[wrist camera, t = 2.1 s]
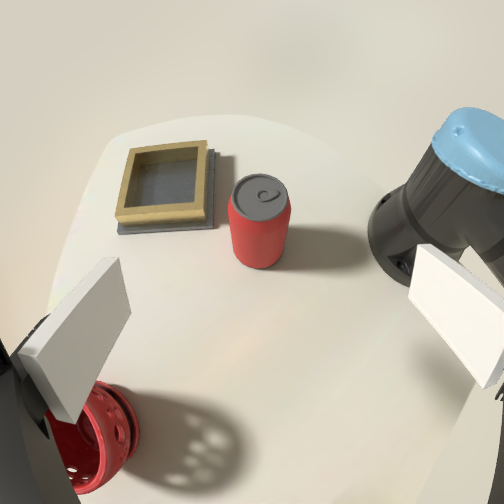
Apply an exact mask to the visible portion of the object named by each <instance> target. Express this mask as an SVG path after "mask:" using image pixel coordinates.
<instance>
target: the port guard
mask: <svg viewBox="0 0 504 504" xmlns="http://www.w3.org/2000/svg"><path fill="white" fill-rule="evenodd" d="M214 163H215V150H214V149H208V144H207V140H201V141H190V142H180V143H171V144H162V145H154V146H146V147H139V148H132V149H130V151H129V155H128V158H127V162H126V166H125V170H124V175H123V179H122V183H121V188H120V192H119V197H118V202H117V207H116V212H115V217H116V219H117V220H118V221H119V223H118V229H117V233H118V234H119V235H120V234H134V233H148V232H164V231H180V230H198V229H213V197H214Z"/></svg>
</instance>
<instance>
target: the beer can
mask: <svg viewBox="0 0 504 504" xmlns="http://www.w3.org/2000/svg"><path fill="white" fill-rule="evenodd" d="M227 208H228V217H229V224H230V231H231V237H232V244H233V250H234V253H235V255H236V257H237V259H238V260H239V261H240V262H241V263H242V264H244V265H246V266H248V267H251V268H257V269H259V268H266V267H268V266H271V265H273V264H274V263H275V262H276V261H277V260H279V258H280V256H281V255H282V253H283V248H284V243H285V239H286V234H287V229H288V224H289V220H290V214H291V205H290V200H289V197H288V193H287V189H286V188H285V186H284V185H283V183H282V182H280V181H279V180H278V179H277V178H275V177H272V176H270V175H266V174H252V175H249V176H246V177H244V178H242V179H241V180H239V181H238V182H237V183H236V185H235V186H234V187H233V190H232V193H231V196H230V199H229V203H228V207H227Z"/></svg>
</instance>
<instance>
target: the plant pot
mask: <svg viewBox="0 0 504 504" xmlns="http://www.w3.org/2000/svg"><path fill="white" fill-rule="evenodd" d="M45 417H46V418H47V420H48V421H49V424H50V427H51V430H52V433H53V436H54V439H55V442H56V445H57V448H58V451H59V453H60V456H61V459H62V461H63V464H64V467H65V469H66V471H67V474H68V476H69V477H71V478H73V479H70V481H71V483H72V485H73V488H74V490H75V492H76V494H77V495H81V494H87V493H90V492H92V491H94V490H96V489H98V488H99V487H101V486H102V485H104V484H105V483H107V482H108V481H109V480H110V479H111V478H112V477H113V476H114V475H116V473H117V472H118V471H119V470H120V469H121V467H122V466H123V464H124V462H125V461H127V460H128V459H129V458H130V457H131V456H132V455H133V454H134V452H135V450H136V448H137V446H138V442H139V425H138V421H137V417H136V415H135V412H134V410H133V408H132V407H131V405H130V404H129V402H128V401H127V400H126V398H125V397H124V396H123V395H122V394H121V393H120V392H119V391H117V390H116V389H115V388H113V387H112V386H110V385H108V384H106V383H104V382H101V381H95V383H94V385H93V387H92V390H91V392H90V394H89V396H88V398H87V400H86V402H85V404H84V406H83V409H82V411H81V413H80V415H79V417H78V420H77V422H76V424H72V423H68V422H64V421H60V420H57V419H56V418H55V416H54V415H53V413H52V412H51V410H50V409H49V408H48V410H47V412H46V413H45ZM68 468H73V469H75V470H77V472H70V471H68V470H67V469H68ZM82 478H88V479H82Z"/></svg>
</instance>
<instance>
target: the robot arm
mask: <svg viewBox="0 0 504 504" xmlns="http://www.w3.org/2000/svg"><path fill="white" fill-rule="evenodd" d="M368 239H369V244H370V247H371V250H372V253H373V255H374V257H375V259H376V260H377V262H378V263H379V265H380V266H381V267H382V269H383V270H384V271H385V272H386V273H387V274H388V275H389V276H390V277H391V278H393V279H394V280H395V281H397V282H399V283H401V284H403V285H405V286H407V287H410V290H409V294H408V299H409V300H410V301H411V302H412V303H413V304H414V305H415V306H416V308H417V309H418V310H419V311H420V312H421V313H422V314H423V316H424V317H425V318H426V319H427V320H428V321H429V322H430V324H431V325H432V326H433V327H434V328H435V330H436V331H437V332H438V333H439V334H440V336H441V337H442V338H443V339H444V340H445V342H446V343H447V344H448V345H449V346H450V348H451V349H452V350H453V351H454V353H455V354H456V355H457V356H458V358H459V359H460V360H461V361H462V363H463V364H464V365H465V367H466V368H467V369H468V370H469V372H470V373H471V374H472V376H473V377H474V378H475V380H476V381H477V382H478V384H479V385H480V386H481V388H482V389H485V388H487V387H490V386H492V385H494V384H496V383H497V381H498V379H499V378H500V376H501V374H502V372H503V370H504V298H503V297H502V296H500V295H499V294H498V293H497V292H495V291H494V290H493V289H492V288H490V287H489V286H488V285H487V284H485V283H484V282H483V281H481V280H480V279H479V278H477V277H476V276H475V275H473V274H472V273H471V272H469V271H468V270H467V269H465V268H464V267H463V266H461V265H460V264H459V263H457V262H458V261H459V259H460V257H461V255H462V253H463V252H464V250H465V249H466V248H467V247H468V246H469V245H470V246H471V247H472V248H473V249H474V250H475V251H476V253H477V254H478V255H479V256H480V257H481V259H482V260H483V261H484V263H485V264H486V265H487V266H488V268H489V269H490V270H491V271H492V273H493V274H494V275H495V277H496V278H497V279H498V281H499V282H500V283H501V285H502V286H503V287H504V120H503V119H501V118H499V117H497V116H496V115H494V114H492V113H490V112H487V111H485V110H481V109H478V108H472V107H465V108H460V109H457V110H455V111H453V112H452V113H451V114H450V115H449V116H448V118H447V119H446V121H445V122H444V124H443V125H442V127H441V128H440V129H439V130H438V131H437V132H436V133H435V134H434V136H433V139H432V143H431V144H430V146H429V148H428V149H427V151H426V152H425V154H424V156H423V157H422V159H421V161H420V162H419V164H418V165H417V167H416V169H415V170H414V172H413V173H412V175H411V176H410V178H409V180H408V181H407V182H406V183H405V184H404V185H402V186H400V187H398V188H397V189H395V190H393V191H392V192H390V193H388V194H387V195H385V196H384V197H383V198H382V199H381V200H380V201H379V202H378V204H377V205H376V207H375V208H374V210H373V212H372V214H371V216H370V219H369V223H368ZM130 314H131V309H130V305H129V301H128V297H127V293H126V289H125V284H124V280H123V275H122V271H121V266H120V261H119V257H114V258H103V259H102V260H101V261H100V262H99V263H98V264H97V265H96V266H95V267H94V268H93V269H92V270H91V271H90V272H89V273H88V274H87V275H86V276H85V277H84V278H83V279H82V280H81V281H80V282H79V283H78V284H77V285H76V287H75V288H74V289H73V290H72V291H71V292H70V293H69V294H68V295H67V296H66V297H65V298H64V299H63V300H62V302H61V303H60V304H59V305H58V306H57V307H56V308H55V309H54V310H53V312H52V313H50V314H49V315H47V316H46V317H44V318H43V319H41V320H40V322H39V323H38V324H37V325H36V326H35V327H34V330H32V331H31V332H30V333H29V334H28V337H26V338H25V339H24V340H23V341H22V342H21V344H20V345H19V346H18V347H17V349H16V350H15V351H14V352H13V353H12V355H11V356H10V357H9V355H8V353H7V351H6V349H5V348H4V345H3V343H2V341H1V339H0V504H81V502H80V500H79V498H78V496H77V494H76V492H75V490H74V488H73V485H72V483H71V481H70V479H69V476H68V474H67V471H66V469H65V467H64V464H63V461H62V459H61V456H60V453H59V451H58V448H57V445H56V442H55V439H54V436H53V433H52V430H51V427H50V424H49V421H48V420H47V418H46V417H45V413H46V412H47V410H48V408H49V409H50V410H51V412H52V413H53V415H54V416H55V418H56V419H57V420H60V421H64V422H68V423H72V424H76V422H77V420H78V417H79V415H80V413H81V411H82V409H83V406H84V404H85V402H86V400H87V398H88V396H89V394H90V392H91V390H92V387H93V385H94V383H95V381H96V379H97V377H98V375H99V373H100V371H101V369H102V367H103V365H104V363H105V361H106V359H107V357H108V355H109V354H110V352H111V350H112V348H113V346H114V344H115V342H116V340H117V338H118V336H119V335H120V333H121V331H122V329H123V327H124V325H125V323H126V322H127V320H128V318H129V316H130ZM502 393H503V397H502V399H501V400H500V401H503V414H502V426H501V436H500V444H499V452H498V458H497V463H496V469H495V474H494V479H493V484H492V488H491V492H490V496H489V500H488V504H504V383H503V385H502V386H501V388H500V389H499V391H498V393H497V394H496V397H495V400H497V399H498V398H499V396H500V394H502Z"/></svg>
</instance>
